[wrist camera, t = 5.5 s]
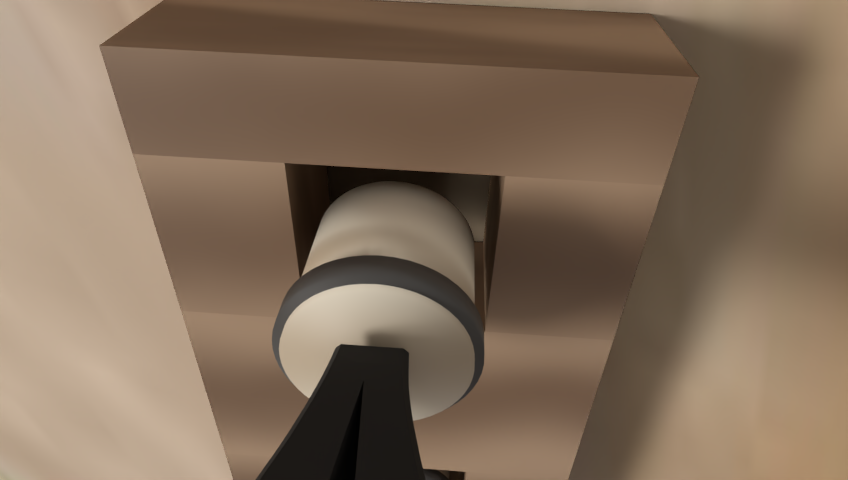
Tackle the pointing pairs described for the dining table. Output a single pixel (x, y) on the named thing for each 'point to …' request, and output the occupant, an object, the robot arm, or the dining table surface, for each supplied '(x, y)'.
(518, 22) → the walnut block
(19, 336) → the dining table surface
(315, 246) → the birch peg outer
